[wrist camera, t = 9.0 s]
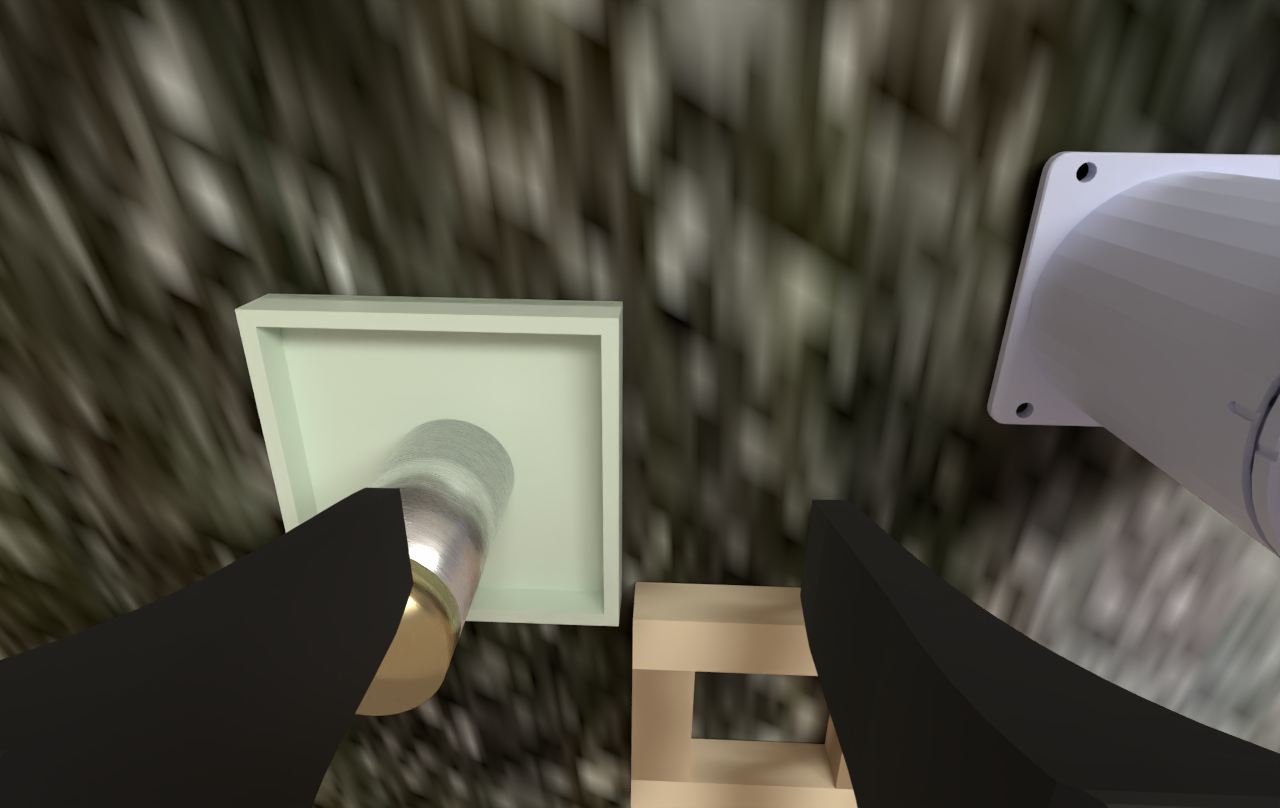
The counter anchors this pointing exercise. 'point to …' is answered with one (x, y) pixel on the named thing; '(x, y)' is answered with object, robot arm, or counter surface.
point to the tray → (467, 391)
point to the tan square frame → (664, 689)
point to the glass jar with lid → (439, 550)
